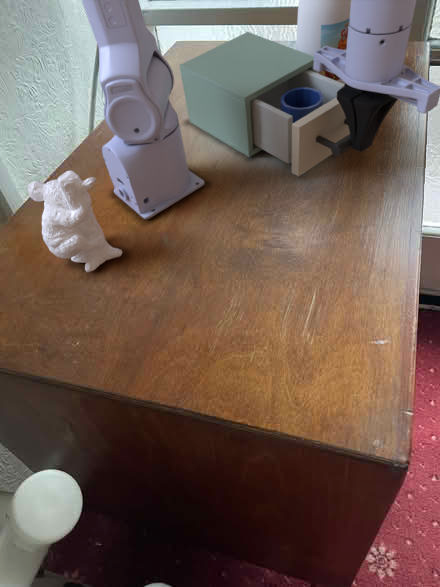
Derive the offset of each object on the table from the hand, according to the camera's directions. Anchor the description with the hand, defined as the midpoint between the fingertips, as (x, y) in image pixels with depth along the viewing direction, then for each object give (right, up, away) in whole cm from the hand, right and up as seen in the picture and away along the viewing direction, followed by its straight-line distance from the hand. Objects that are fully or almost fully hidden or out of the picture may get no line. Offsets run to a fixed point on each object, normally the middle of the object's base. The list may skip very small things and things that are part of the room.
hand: (361, 146), depth 54 cm
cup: (-6, +4, +7) cm, 10 cm away
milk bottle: (-1, +14, +18) cm, 23 cm away
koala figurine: (-31, -13, 0) cm, 34 cm away
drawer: (-5, +3, +8) cm, 10 cm away
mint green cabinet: (-12, +8, +14) cm, 20 cm away
